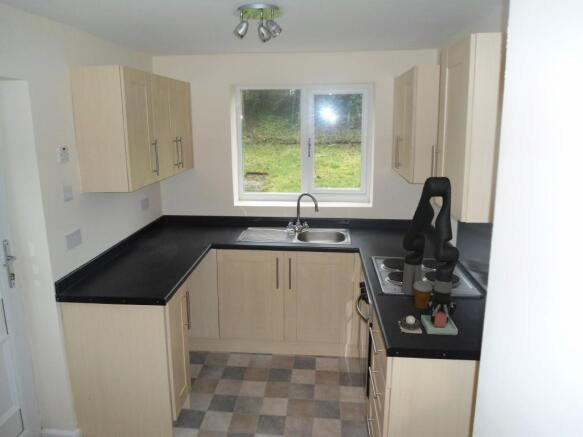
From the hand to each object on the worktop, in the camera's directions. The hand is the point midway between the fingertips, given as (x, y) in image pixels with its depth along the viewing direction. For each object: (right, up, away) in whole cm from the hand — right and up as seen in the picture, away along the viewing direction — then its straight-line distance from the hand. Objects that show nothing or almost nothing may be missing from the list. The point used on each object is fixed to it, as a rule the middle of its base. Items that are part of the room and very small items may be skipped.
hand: (438, 322), depth 206 cm
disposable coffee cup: (-2, +3, +22) cm, 22 cm away
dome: (-14, 0, -1) cm, 14 cm away
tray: (0, -2, +1) cm, 2 cm away
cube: (0, 0, 0) cm, 1 cm away
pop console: (-14, -2, -1) cm, 14 cm away
